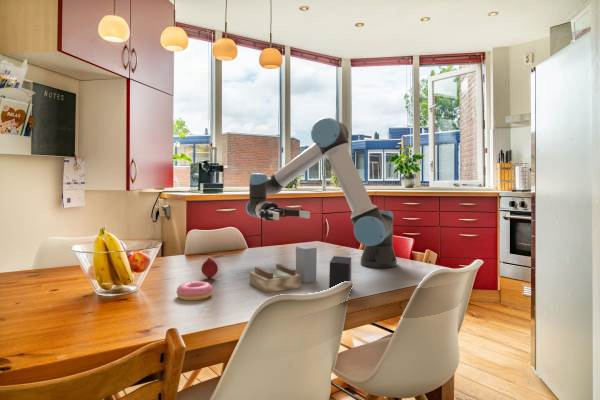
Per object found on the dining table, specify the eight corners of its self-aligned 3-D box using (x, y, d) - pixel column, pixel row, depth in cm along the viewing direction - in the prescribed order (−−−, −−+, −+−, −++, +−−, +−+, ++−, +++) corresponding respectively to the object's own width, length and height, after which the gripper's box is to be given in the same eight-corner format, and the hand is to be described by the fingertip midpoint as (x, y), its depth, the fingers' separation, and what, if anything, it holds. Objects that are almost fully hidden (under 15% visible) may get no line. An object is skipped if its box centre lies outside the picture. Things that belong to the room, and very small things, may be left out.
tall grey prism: (307, 277, 148) (307, 245, 148) (316, 281, 143) (316, 247, 143) (295, 279, 146) (295, 246, 145) (304, 282, 141) (304, 248, 140)
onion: (221, 277, 148) (220, 256, 147) (211, 281, 143) (211, 258, 142) (208, 276, 150) (208, 254, 150) (198, 279, 145) (198, 257, 145)
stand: (282, 278, 146) (282, 263, 146) (300, 287, 135) (301, 270, 135) (249, 283, 139) (249, 267, 139) (266, 292, 128) (266, 274, 128)
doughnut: (183, 291, 130) (182, 279, 130) (216, 292, 129) (216, 279, 129) (171, 302, 119) (171, 288, 119) (208, 302, 119) (207, 288, 118)
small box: (349, 296, 124) (349, 262, 124) (328, 295, 126) (328, 262, 125) (351, 287, 135) (352, 256, 134) (332, 286, 136) (332, 255, 136)
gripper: (292, 218, 176) (320, 224, 158) (240, 220, 163) (264, 227, 145) (293, 201, 175) (321, 205, 157) (240, 202, 162) (264, 206, 144)
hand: (294, 215), depth 151 cm, fingers open, 13 cm apart
